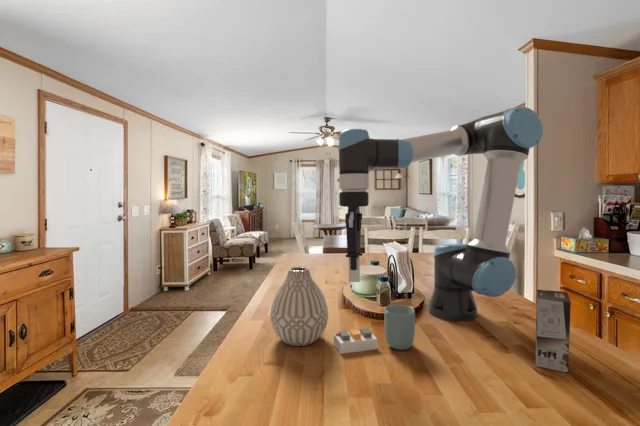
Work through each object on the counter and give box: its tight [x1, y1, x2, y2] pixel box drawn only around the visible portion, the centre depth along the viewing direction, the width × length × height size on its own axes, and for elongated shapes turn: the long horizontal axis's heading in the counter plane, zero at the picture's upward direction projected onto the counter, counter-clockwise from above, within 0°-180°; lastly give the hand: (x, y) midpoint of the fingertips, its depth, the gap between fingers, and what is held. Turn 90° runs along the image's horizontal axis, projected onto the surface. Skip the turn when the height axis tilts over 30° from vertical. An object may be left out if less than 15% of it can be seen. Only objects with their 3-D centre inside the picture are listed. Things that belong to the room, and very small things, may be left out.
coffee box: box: [535, 289, 572, 373], centre depth 82 cm, size 9×6×16 cm
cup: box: [384, 304, 416, 351], centre depth 91 cm, size 8×8×10 cm
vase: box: [269, 266, 329, 347], centre depth 96 cm, size 16×16×20 cm
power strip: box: [333, 327, 378, 354], centre depth 92 cm, size 10×6×4 cm, turn 104°
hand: (354, 281), depth 91 cm, fingers closed
